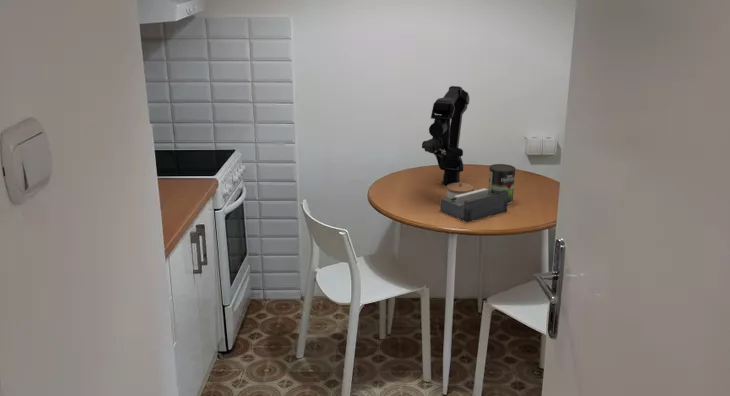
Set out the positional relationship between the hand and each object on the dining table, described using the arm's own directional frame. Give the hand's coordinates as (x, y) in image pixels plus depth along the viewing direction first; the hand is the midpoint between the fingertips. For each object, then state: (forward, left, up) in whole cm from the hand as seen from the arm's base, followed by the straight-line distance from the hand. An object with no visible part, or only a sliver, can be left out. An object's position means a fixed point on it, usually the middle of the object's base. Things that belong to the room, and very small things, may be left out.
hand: (441, 169), depth 287 cm
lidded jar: (+1, +12, -12) cm, 17 cm away
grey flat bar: (+2, +19, -11) cm, 22 cm away
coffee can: (-16, +18, -12) cm, 27 cm away
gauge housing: (+1, +20, -12) cm, 23 cm away
